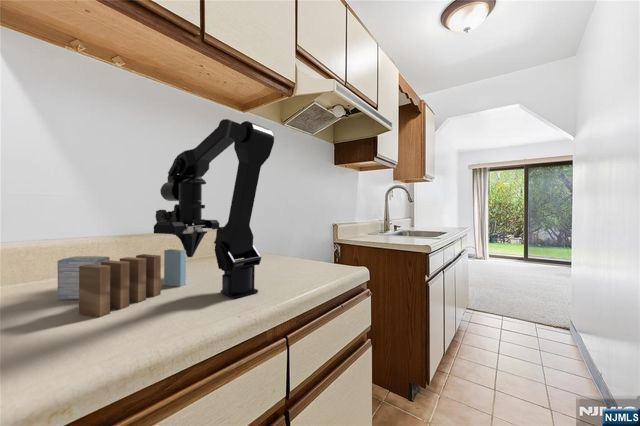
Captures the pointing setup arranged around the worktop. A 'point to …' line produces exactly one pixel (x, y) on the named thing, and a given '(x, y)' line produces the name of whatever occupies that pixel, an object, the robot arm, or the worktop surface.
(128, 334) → the worktop surface
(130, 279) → the tile
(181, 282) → the tile
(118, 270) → the tile
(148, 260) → the tile
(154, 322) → the worktop surface
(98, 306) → the tile
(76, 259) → the medicine box
